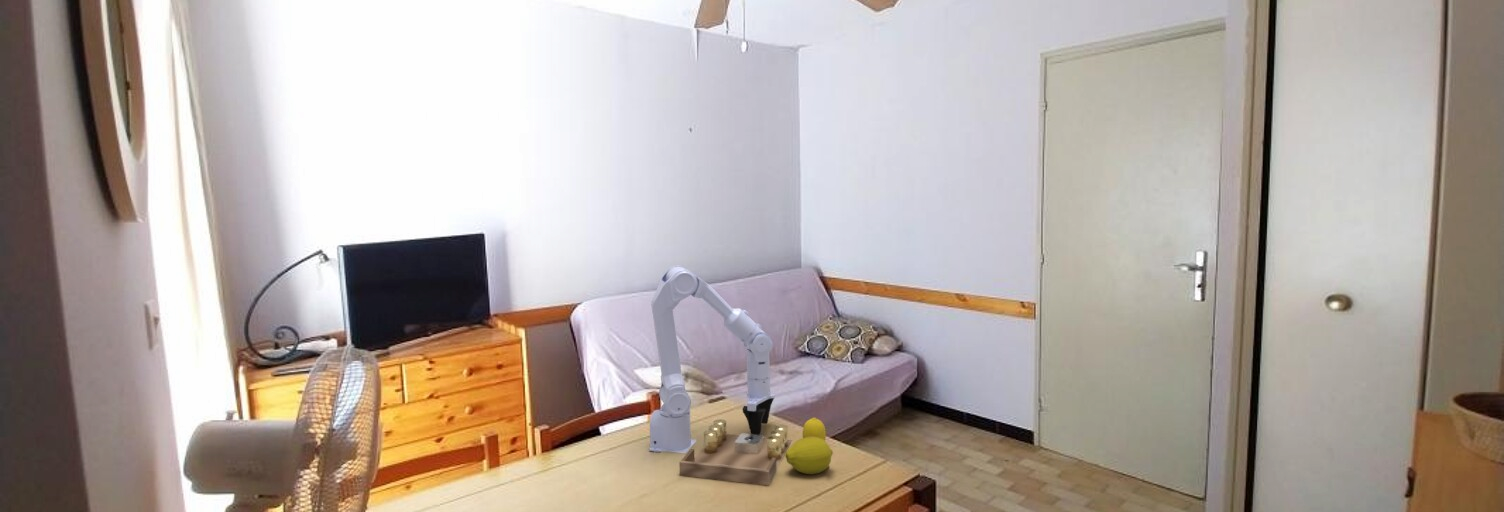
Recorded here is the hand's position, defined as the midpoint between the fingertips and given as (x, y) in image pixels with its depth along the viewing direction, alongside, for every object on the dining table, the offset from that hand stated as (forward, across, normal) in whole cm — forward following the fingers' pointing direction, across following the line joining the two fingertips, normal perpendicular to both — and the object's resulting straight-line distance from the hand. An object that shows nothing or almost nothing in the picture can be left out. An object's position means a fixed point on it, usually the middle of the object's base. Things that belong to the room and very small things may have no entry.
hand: (759, 428), depth 158 cm
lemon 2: (+2, -18, -16) cm, 24 cm away
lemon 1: (+2, -6, -15) cm, 16 cm away
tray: (+2, -14, +1) cm, 15 cm away
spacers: (+1, -9, +1) cm, 10 cm away
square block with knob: (+1, -10, 0) cm, 10 cm away
